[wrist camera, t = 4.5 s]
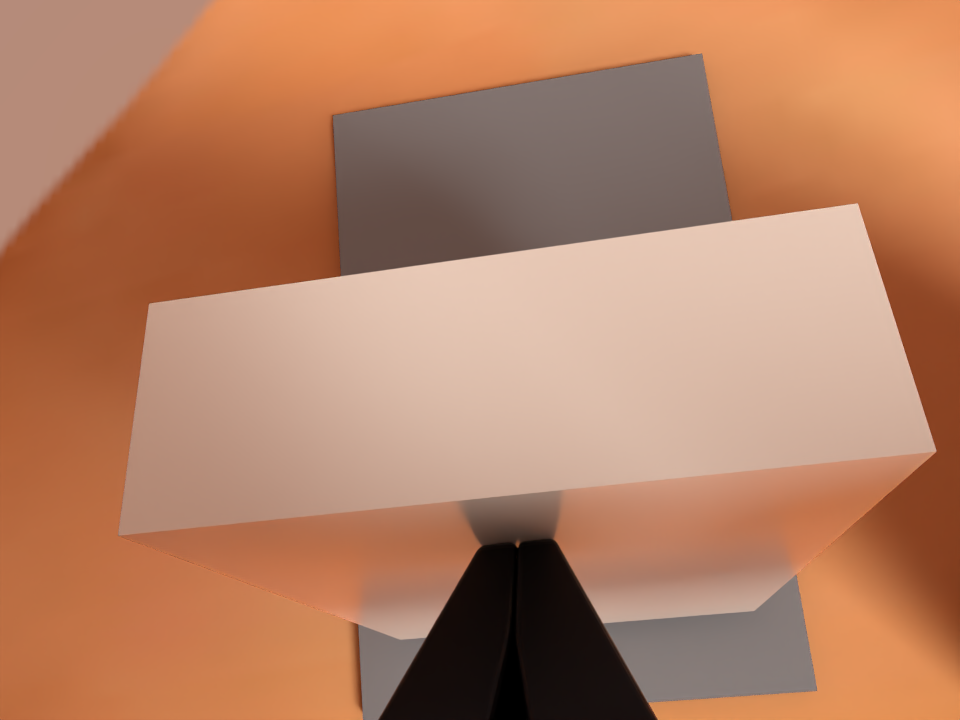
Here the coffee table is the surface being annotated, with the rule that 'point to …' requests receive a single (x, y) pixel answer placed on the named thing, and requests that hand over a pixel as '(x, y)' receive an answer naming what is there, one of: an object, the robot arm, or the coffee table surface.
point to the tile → (532, 420)
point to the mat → (546, 223)
